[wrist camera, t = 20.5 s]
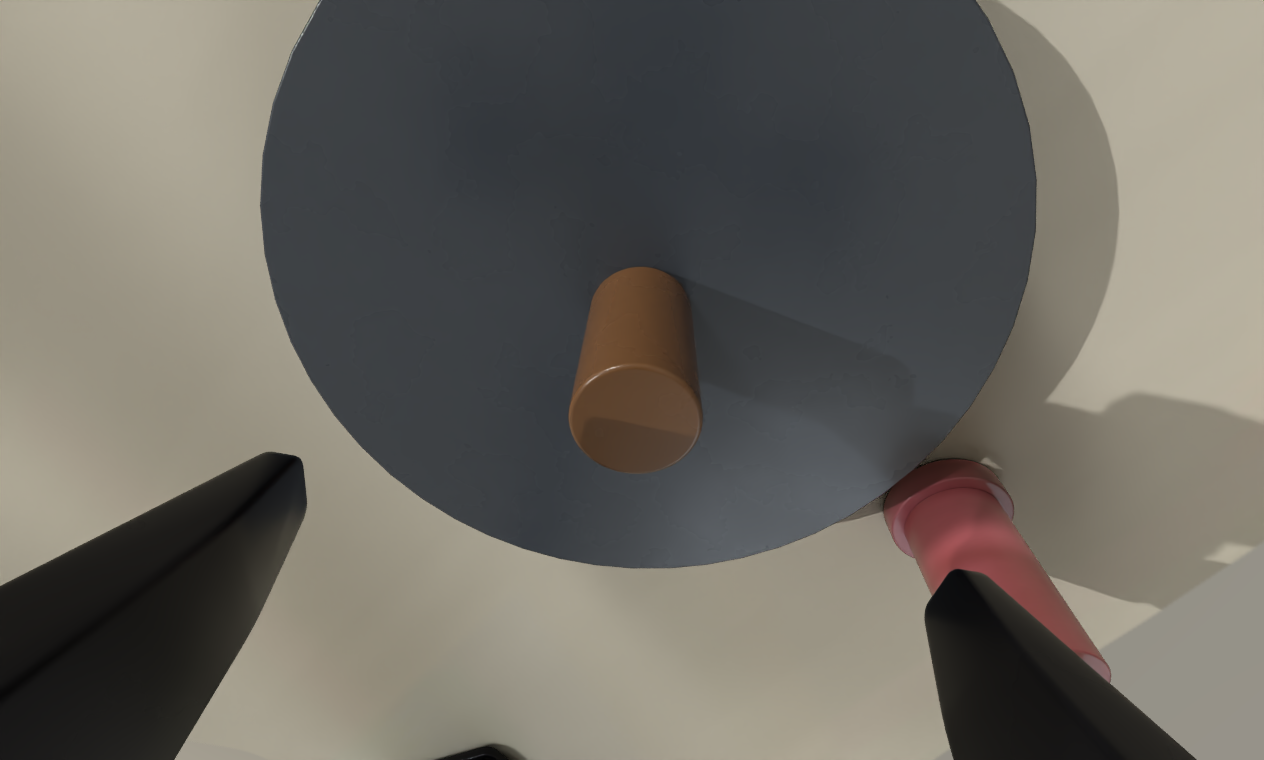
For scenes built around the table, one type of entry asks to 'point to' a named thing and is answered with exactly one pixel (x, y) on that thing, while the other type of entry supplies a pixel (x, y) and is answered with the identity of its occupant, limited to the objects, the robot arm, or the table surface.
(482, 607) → the table surface
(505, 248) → the lid
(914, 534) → the doll
